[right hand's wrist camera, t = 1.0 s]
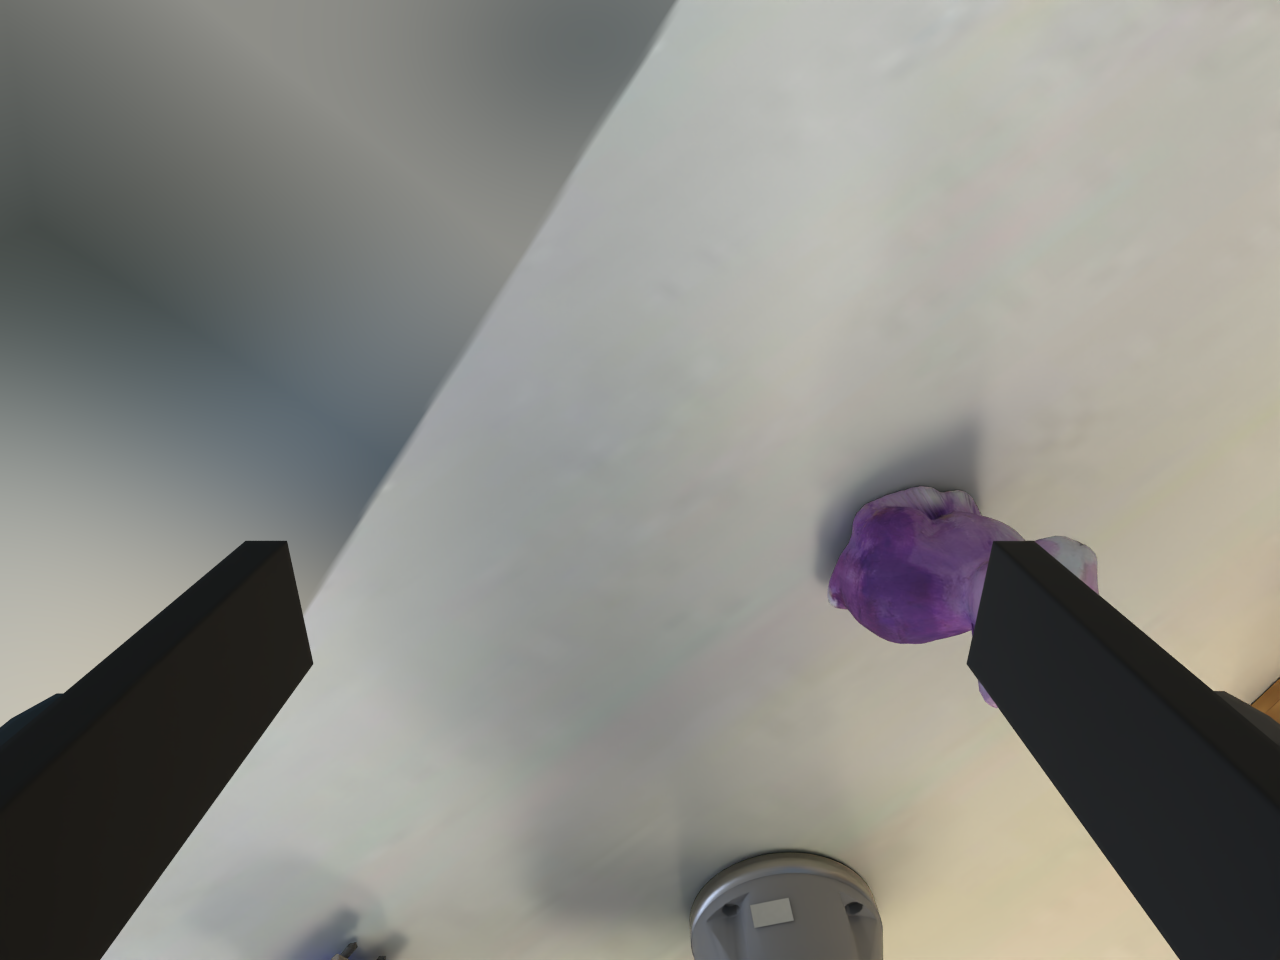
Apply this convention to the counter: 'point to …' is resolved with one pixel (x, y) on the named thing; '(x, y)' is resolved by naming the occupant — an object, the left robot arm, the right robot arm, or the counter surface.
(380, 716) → the counter surface
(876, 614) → the figurine
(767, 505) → the counter surface
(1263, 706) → the cabinet
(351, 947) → the figurine character
